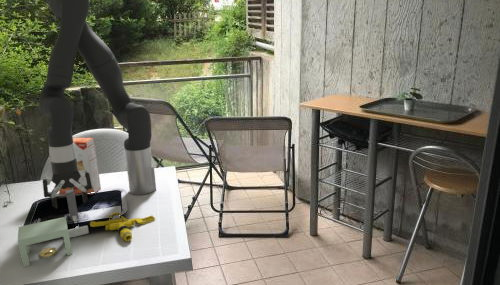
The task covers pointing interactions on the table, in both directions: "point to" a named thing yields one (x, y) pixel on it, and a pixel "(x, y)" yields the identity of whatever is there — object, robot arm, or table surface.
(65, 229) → the footstool
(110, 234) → the table surface
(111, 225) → the sprinkler
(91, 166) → the cracker box
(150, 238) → the table surface
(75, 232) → the block
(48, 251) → the token
